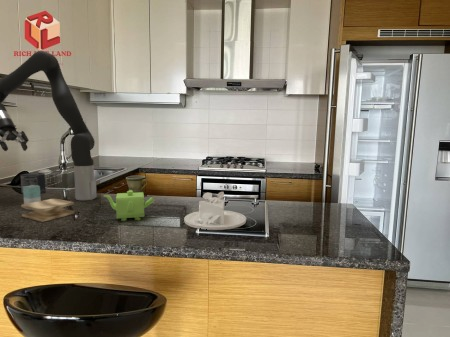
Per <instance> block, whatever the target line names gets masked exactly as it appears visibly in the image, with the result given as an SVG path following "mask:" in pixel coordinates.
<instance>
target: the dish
mask: <svg viewBox="0 0 450 337" xmlns="http://www.w3.org/2000/svg"><path fill="white" fill-rule="evenodd" d="M224 196H225V193H224V191H219V192H218V194H217V196H213V193H212V192H204V194H203V195H202V198H203V199H205V200H199V201H198V211H194V212H191V213H189V214H187V215H185V217H184V218H183V221H184V224H185V225H187V226H188V227H192V228H195V229H199V228H201V229H200V230H206V229H207V230H208V231H223V230H231V229H236V228H239V227H241V226H243V225H245V224H246V222H247V217H246V216H245V215H244V214H242V213H241V212H237V211H232V210H225V199H223V198H224ZM207 230H206V231H207Z"/></svg>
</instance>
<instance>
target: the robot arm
mask: <svg viewBox="0 0 450 337" xmlns="http://www.w3.org/2000/svg"><path fill="white" fill-rule="evenodd" d="M39 72H43V73H44V75H45V76H46V78H47V80H48V82H49V84H50V90H51V98H52V101H53V103H54V106H55V108H56V110H57V112H58V113H59V115H60V116H61V118H63V120H64V121H65V122H66V123H67V125H68V126H69V127H70V129H71V130H72V133H73V136H72V138H71V140H70V152H71V160H72V162H73V174H74V175H73V177H74V192H75V194H74V195H75V200H76V201H92V200H95V199H96V198H97V180H96V178H95V165H94V164H95V163H94V159H93V158H92V154H91V153H92V152H91V151H92V150H93V149H94V146H95V144H96V143H95V137H94V136H93V134H92V133H91V131H90V130H89V128H88V126H87V125H86V122H85V120H84V118H83V115H82V114H81V111H80V108H79V107H78V105H77V102H76V100H75V98H74V96H73V94H72V92H71V90H70V87H69V85H68V84H67V82H66V80H65V77H64V75H63V72H62V69H61V65H60V63H59V61H58V58H57V57H56V56H55V55H53V54H51V53H49V52H48V51H44V50H38V51H35V53H33V54H32V55H31V56H29V58H27V60H25V61H24V62H23V63H22V64H21V65H19V66H18V67H17V68H16V69H15V70H13V71H11V72H10V73H9V74H7V75H5V76H4V77H2V78H1V79H0V137H1V139H0V147H1V149H2V150H3V151H4V152H8V150H9V147H8V145H7V143H6V142H5V141H8V142H9V141H14V142H16V143H18V144H19V145H20V146H21V149H22V150H23V152H24V151H25V152H26V151H27V150H28V145H27V144H28V142H29V138H28V136H27V134H26V132H25V131H24V130H21V131H17V129H16V125H15V123H14V121H13V120H12V117H11V115H10V114H9V113H8V110H7V108H6V106H5V105H4V104H3V102H4V101H5V100H6V98H8V96H9V95H10V94H11V93H12V92H15V91H16V90H18V89H19V88H20V87H21V86H23V85H24V84H25V82H26V81H27V80H28V79H29V78H30V77H32V76H33V75H34V74H36V73H39Z"/></svg>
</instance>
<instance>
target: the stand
mask: <svg viewBox="0 0 450 337" xmlns="http://www.w3.org/2000/svg"><path fill="white" fill-rule="evenodd" d="M72 205H75V202H74V201H71V200H70V201H69V200H66V199H65V200H63V199H59V198H49V199H44V200H41V201H38V202H33V203H28V204H24V203H23V204H21V206H20V207H21V208H23V209H25V208H27V209H26V210H29V209H31V210H32V211H31V210H30V212H28V213H27V212H26V213H22V214H21V217H22V218H26V219H30V220H33V221H38V222H42V223H43V222H47V221H51V220H55V219H58V218H63V217H66V216H71V215H74V214H75V210H69V209H65V207H68V206H72Z"/></svg>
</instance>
